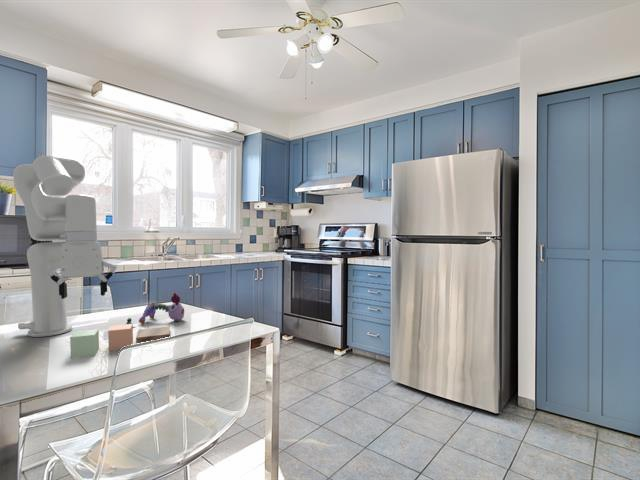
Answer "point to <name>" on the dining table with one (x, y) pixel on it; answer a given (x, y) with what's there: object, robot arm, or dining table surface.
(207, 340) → the dining table surface
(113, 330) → the terracotta cube
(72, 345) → the sage cube
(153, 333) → the board
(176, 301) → the toy
